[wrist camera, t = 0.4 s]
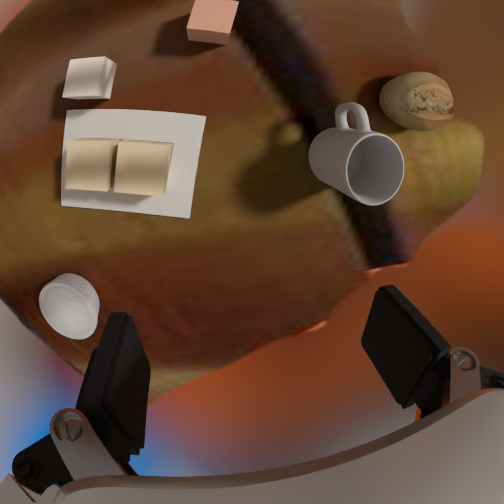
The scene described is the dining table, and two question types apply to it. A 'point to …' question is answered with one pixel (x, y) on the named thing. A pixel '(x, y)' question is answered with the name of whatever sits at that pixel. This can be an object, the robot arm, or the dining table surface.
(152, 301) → the dining table surface
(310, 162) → the mug
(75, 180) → the maple block
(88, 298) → the ramekin
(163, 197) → the felt mat
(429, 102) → the bread roll
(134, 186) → the maple block
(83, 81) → the birch cube
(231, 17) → the terracotta cube
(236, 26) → the dining table surface
